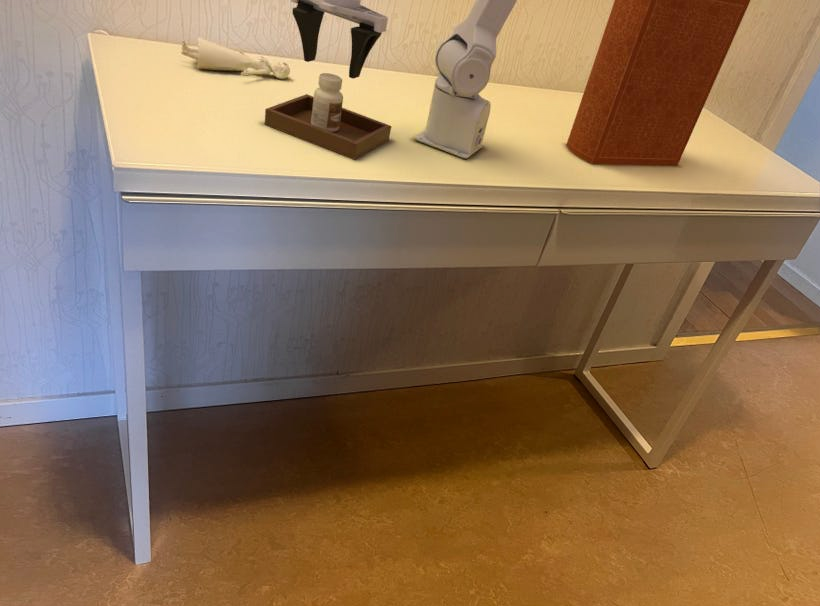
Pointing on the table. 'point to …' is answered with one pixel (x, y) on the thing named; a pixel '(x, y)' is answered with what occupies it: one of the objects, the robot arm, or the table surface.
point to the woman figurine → (231, 60)
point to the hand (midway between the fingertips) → (331, 68)
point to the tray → (348, 140)
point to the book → (652, 79)
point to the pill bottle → (327, 102)
